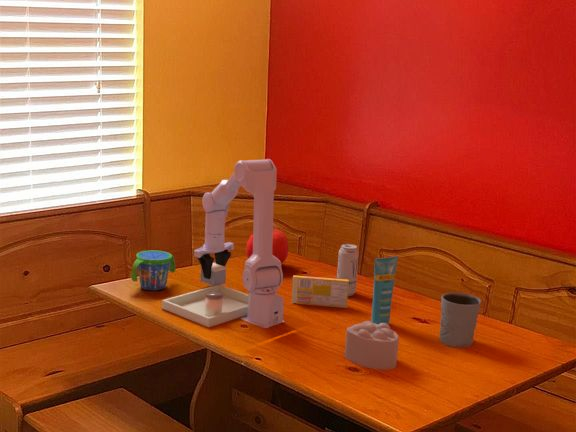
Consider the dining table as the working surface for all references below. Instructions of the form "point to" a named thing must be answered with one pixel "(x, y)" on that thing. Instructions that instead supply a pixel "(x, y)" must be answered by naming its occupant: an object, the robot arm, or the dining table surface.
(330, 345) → the dining table surface
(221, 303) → the jar
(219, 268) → the pale pink block
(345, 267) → the energy drink can
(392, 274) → the tube
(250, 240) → the tomato
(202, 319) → the white square tray
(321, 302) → the candy box
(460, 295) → the grey tapered cup
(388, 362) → the lumpy-topped squat cylinder
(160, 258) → the snack cup
